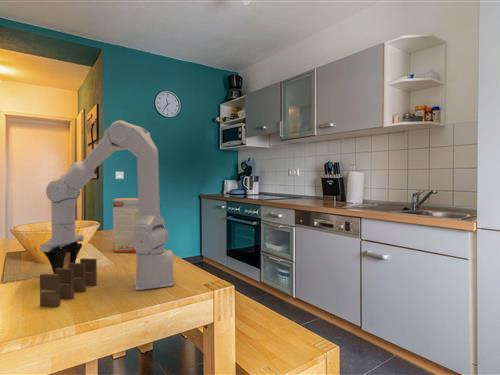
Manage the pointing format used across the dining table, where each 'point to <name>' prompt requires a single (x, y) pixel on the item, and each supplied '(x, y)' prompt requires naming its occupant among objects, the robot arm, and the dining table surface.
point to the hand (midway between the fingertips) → (63, 271)
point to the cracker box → (124, 223)
